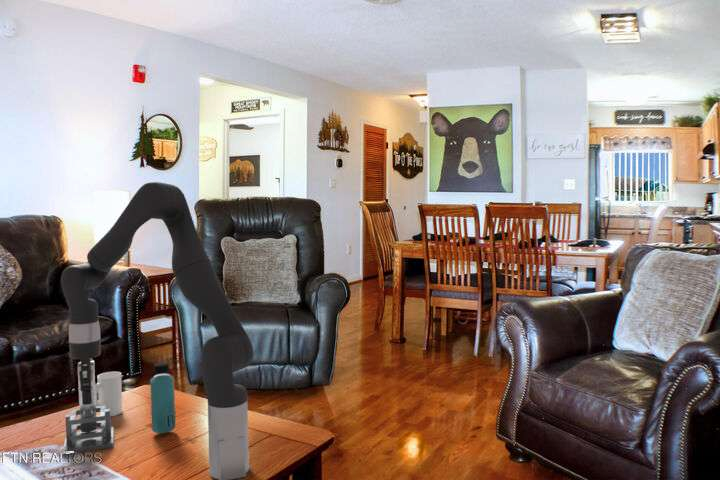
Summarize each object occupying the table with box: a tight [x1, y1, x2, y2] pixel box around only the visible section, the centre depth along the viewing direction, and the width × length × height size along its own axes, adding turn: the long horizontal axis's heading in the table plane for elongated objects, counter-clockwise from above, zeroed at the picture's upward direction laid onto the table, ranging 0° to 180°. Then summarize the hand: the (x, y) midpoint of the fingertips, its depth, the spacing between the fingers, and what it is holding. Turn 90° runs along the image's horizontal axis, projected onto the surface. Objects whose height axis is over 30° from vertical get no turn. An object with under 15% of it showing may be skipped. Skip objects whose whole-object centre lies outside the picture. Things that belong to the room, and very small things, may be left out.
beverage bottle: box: [149, 361, 177, 434], centre depth 162 cm, size 6×7×20 cm
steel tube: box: [77, 361, 98, 432], centre depth 157 cm, size 4×4×18 cm
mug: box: [95, 371, 123, 417], centre depth 177 cm, size 10×7×12 cm, turn 162°
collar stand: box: [61, 406, 115, 454], centre depth 157 cm, size 12×12×8 cm
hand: (87, 401), depth 157 cm, fingers closed on steel tube, 4 cm apart
